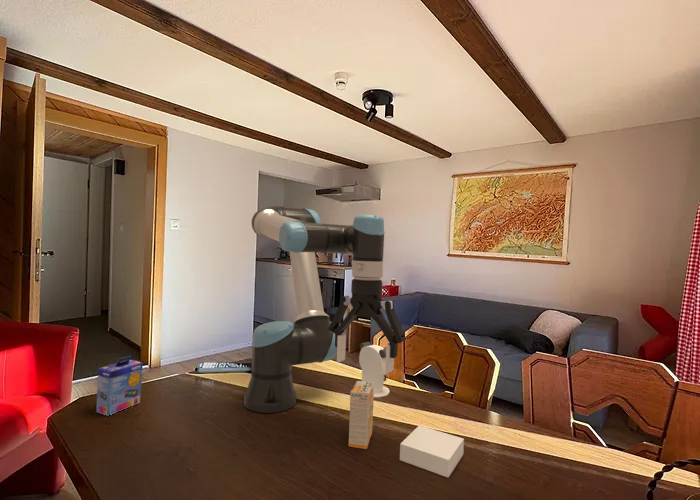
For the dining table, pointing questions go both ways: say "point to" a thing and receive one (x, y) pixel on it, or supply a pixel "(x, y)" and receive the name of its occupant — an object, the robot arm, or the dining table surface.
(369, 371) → the white rounded upright piece
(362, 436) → the supplement box
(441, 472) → the white block
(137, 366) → the ink cartridge box
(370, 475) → the dining table surface
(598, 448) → the dining table surface
